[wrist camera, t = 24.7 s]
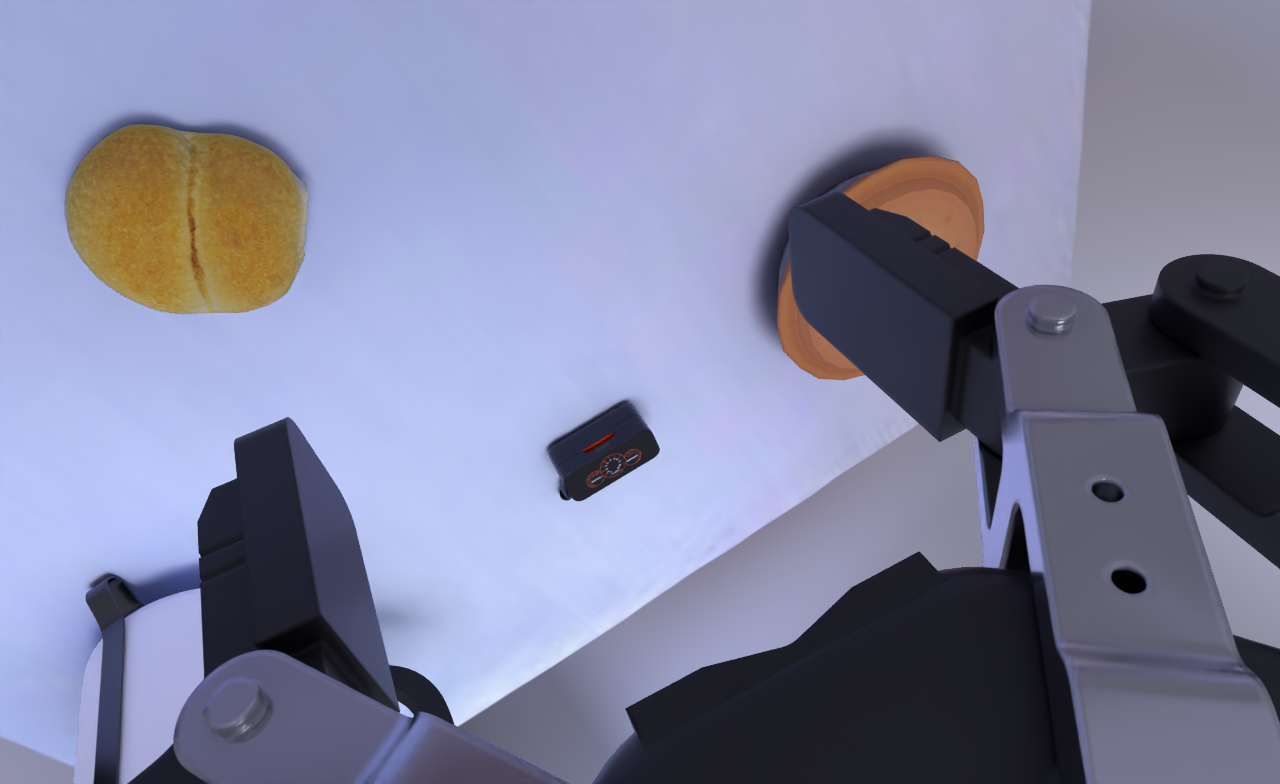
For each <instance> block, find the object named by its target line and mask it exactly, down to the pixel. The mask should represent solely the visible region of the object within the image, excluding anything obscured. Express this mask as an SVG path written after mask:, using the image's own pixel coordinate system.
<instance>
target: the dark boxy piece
mask: <svg viewBox="0 0 1280 784" xmlns="http://www.w3.org/2000/svg"><path fill="white" fill-rule="evenodd" d="M659 450H660V449H659V446H658V444H657V441H656V439H655V437H654V435H653V433H652V431H651V430H650V429H649V427H648V426H647V424H646V423H645V422H644V420H643V419H642V417H641V416H640V415H639V413H638V412H637V410H636V409H635V407H634V406H633V405H631V404H628V403H625V404H622V405H620V406H619V407H617V408H615V409H614V410H612V411H610V412H609V413H607V414H605V415H604V416H602V417H600V418H598V419H597V420H595V421H593V422H592V423H590V424H588V425H587V426H585V427H583V428H582V429H580V430H578V431H576V432H575V433H573V434H571V435H570V436H568V437H566V438H565V439H563V440H561V441H559V442H558V443H556V444H554V445H553V446H552V447H551V448H550V449H549V458H550V460H551V462H552V464H553V465H554V467H555V469H556V471H557V473H558V475H559V477H560V478H561V480H562V482H561V490H560V497H561V499H562V500H570V499H571V498H573V499H574V500H575V501H582V500H584V499H586V498H588V497H590V496H591V495H593V494H595V493H596V492H598V491H600V490H601V489H603V488H605V487H606V486H608V485H610V484H611V483H613V482H615V481H616V480H618V479H620V478H621V477H623V476H625V475H626V474H628V473H630V472H631V471H633V470H635V469H636V468H638V467H640V466H641V465H643V464H645V463H646V462H648V461H650V460H651V459H653V458H654V457H656V456H657V455H658V453H659Z"/></svg>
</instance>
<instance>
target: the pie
mask: <svg viewBox="0 0 1280 784" xmlns="http://www.w3.org/2000/svg"><path fill="white" fill-rule="evenodd" d="M833 191H839V192H841V193H843V194H845V195H846V196H848V197H849V198H851V199H852V200H854V201H855V202H857V203H858V204H860V205H861V206H863V207H864V208H866V209H867V210H871V209H873V208H878V209H881V210H885V211H889V212H892V213H896V214H899V215H903V216H907V217H908V218H910V219H911V220H913V221H915V222H916V223H918V224H919V225H921V226H922V227H924V228H925V229H927V230H929V231H930V232H931V235H932V236H933V235H936V236H938V237H940V238H941V239H943V240H944V241H946V242H947V243H949V244H950V247H951V248H954V247H955V248H957V249H958V250H960V251H961V252H963V253H965V254H966V255H968V256H969V257H971V258H972V259H974V260H975V261H977V258H978V254H979V250H980V246H981V242H982V238H983V234H984V211H983V200H982V197H981V193H980V189H979V185H978V182H977V179H976V178H975V177H974V176H973V175H972V174H971V173H970V172H969V171H968V170H967V169H966V168H965V167H964V166H962V165H961V164H960V163H959V162H958V161H954V160H949V159H945V158H941V157H936V156H927V157H917V158H907V159H900V160H898V161H896V162H893V163H891V164H889V165H887V166H884V167H882V168H880V169H876V170H872V171H869V172H865V173H861V174H859V175H857V176H855V177H852V178H850V179H848V180H845V181H843V182H841V183H839V184H838V185H836V186H835V187H834V188H832V189H831V190H830V191H828V192H827V193H826V194H828V193H830V192H833ZM826 194H824V195H826ZM777 328H778V332H779V335H780V339H781V343H782V347H783V351H784V352H785V353H786V354H787V355H788V356H789V357H790V358H791V359H792V360H793V361H794V362H795V363H796V364H797V365H798V366H799V367H800V368H801V369H803V370H805V371H806V372H808V373H810V374H812V375H813V376H815V377H817V378H819V379H834V380H846V379H850V378H854V377H858V376H862V375H865V374H864V373H863V372H862V371H860V370H859V369H858V368H857V367H856V366H855V365H854V364H853V363H852V362H850V361H849V360H848V359H847V358H846V357H845V356H844V355H843V354H842V353H841V352H839V351H838V350H837V349H836V348H835V347H834V346H833V345H832V344H831V343H829V342H828V341H827V340H826V339H825V338H824V337H823V336H822V335H821V334H819V333H818V332H817V331H816V330H815V329H814V328H813V327H812V326H811V325H810V324H809V323H808V322H807V321H806V320H805V319H804V317H803V316H802V314H801V313H800V311H799V309H798V307H797V305H796V302H795V299H794V296H793V291H792V280H791V263H790V245H789V240H788V241H787V244H786V247H785V250H784V253H783V256H782V259H781V262H780V265H779V279H778V311H777Z"/></svg>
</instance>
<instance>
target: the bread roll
mask: <svg viewBox="0 0 1280 784" xmlns="http://www.w3.org/2000/svg"><path fill="white" fill-rule="evenodd" d="M308 201H309V195H308V189H307V185H306V184H305V183H304V182H303V181H302V180H301V179H300V178H298V177H297V176H296V175H295V174H294V173H293V171H292V170H291V169H290V168H289V166H288V165H287V164H286V163H285V162H284V160H282V159H281V158H280V157H279V156H278V155H276V154H275V153H274V152H272V151H271V150H269V149H268V148H266V147H264V146H262V145H259V144H257V143H255V142H252V141H250V140H248V139H245V138H242V137H238V136H234V135H230V134H219V133H196V132H188V131H179V130H175V129H172V128H170V127H165V126H159V125H148V124H137V125H128V126H125V127H121V128H119V129H118V130H116V131H114V132H113V133H111V134H110V135H108V136H107V137H105V138H104V139H103V140H101V141H100V142H99V143H98V144H97V145H96V146H95V147H94V148H93V149H92V150H91V151H90V152H89V153H88V154H87V155H86V156H85V157H84V158H83V159H82V161H81V162H80V164H79V165H78V167H77V169H76V171H75V173H74V175H73V177H72V178H71V180H70V183H69V185H68V187H67V190H66V196H65V218H66V223H67V228H68V233H69V236H70V240H71V243H72V244H73V246H74V248H75V250H76V251H77V253H78V255H79V256H80V258H81V259H82V260H83V262H84V263H85V264H86V265H87V266H88V268H89V269H90V270H91V271H92V272H93V273H94V274H95V275H96V277H97V278H99V279H100V280H101V281H102V282H104V283H105V284H106V285H107V286H109V287H110V288H112V289H113V290H115V291H116V292H118V293H119V294H121V295H123V296H125V297H127V298H129V299H131V300H133V301H135V302H137V303H139V304H142V305H144V306H147V307H149V308H152V309H155V310H158V311H161V312H168V313H177V314H196V313H239V312H249V311H251V310H255V309H258V308H261V307H264V306H267V305H270V304H271V303H273V302H275V301H277V300H278V299H280V298H281V297H282V296H284V295H285V294H286V293H287V292H288V290H289V289H290V287H291V285H292V283H293V281H294V279H295V277H296V275H297V273H298V271H299V268H300V266H301V265H302V263H303V261H304V256H305V254H304V245H305V234H306V224H307V215H308Z"/></svg>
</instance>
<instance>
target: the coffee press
mask: <svg viewBox="0 0 1280 784" xmlns="http://www.w3.org/2000/svg"><path fill="white" fill-rule="evenodd" d="M86 602H87V604H88V606H89V608H90V609H91V611H92V613H93V615H94V617H95V618H96V620H97V622H98V624H99V626H100V629H101V631H102V636H103V638H102V639H101V641H100V642H99V643H98V644H97V646H96V647H95V649H94V650H93V652H92V654H91V656H90V658H89V660H88V663H87V665H86V669H85V673H84V679H83V687H82V696H81V706H80V717H79V727H78V738H77V749H76V760H75V771H74V783H73V784H127V783H129V782H130V781H131V780H132V779H134V778H135V777H136V776H137V775H139V774H140V773H141V772H142V771H144V770H145V769H146V768H147V767H148V766H150V765H151V764H152V763H153V762H154V761H156V760H157V759H158V758H159V757H160V756H161V755H162V754H164V752H165V751H166V750H167V749H168V748H169V747H170V746H171V745H172V744H173V743H174V742H173V737H174V730H175V725H176V722H177V719H178V716H179V714H180V712H181V710H182V708H183V706H184V704H185V702H186V701H187V699H188V698H189V696H190V695H191V693H192V692H193V691H194V690H195V688H196V687H197V686H198V685H199V684H200V683H201V682H202V681H203V680H204V663H203V640H202V617H201V593H200V588H198V589H193V590H188V591H184V592H180V593H176V594H173V595H170V596H167V597H164V598H162V599H159V600H157V601H154V602H152V603H150V604H148V605H146V606H145V605H144V604H142V603H141V602H140V601H139V600H138V598H137V597H136V596H135V595H134V593H133V592H132V590H131V589H130V588H129V586H128V585H127V584H126V583H125V582H124V581H123V580H122V579H121V578H119V577H116V576H109V577H107V578H106V579H105V580H103V581H102V582H101V583H99V584H98V585H97V586H95V587H94V588H92V589H91V590H90V591H88V592H87V594H86ZM389 668H390V672H391V676H392V681H393V685H394V689H395V693H396V697H397V701H399V702H400V703H402V704H404V705H405V706H406V707H407V708H408V709H409V710H410V711H411V712H412V713H413V714H414V715H415V714H416V713H417V712H425V713H429V714H432V715H434V716H437V717H439V718H441V719H443V720H445V721H447V722H449V723H451V724H453V725H454V722H453V719H452V716H451V714H450V711H449V709H448V706H447V704H446V702H445V700H444V698H443V696H442V695H441V693H440V692H439V691H438V689H437V688H436V687H435V686H434V685H433V684H432V683H431V682H430V681H429V680H428V679H426V678H425V677H424V676H422V675H421V674H419V673H417V672H415V671H413V670H410V669H408V668H404V667H400V666H392V665H389Z"/></svg>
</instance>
